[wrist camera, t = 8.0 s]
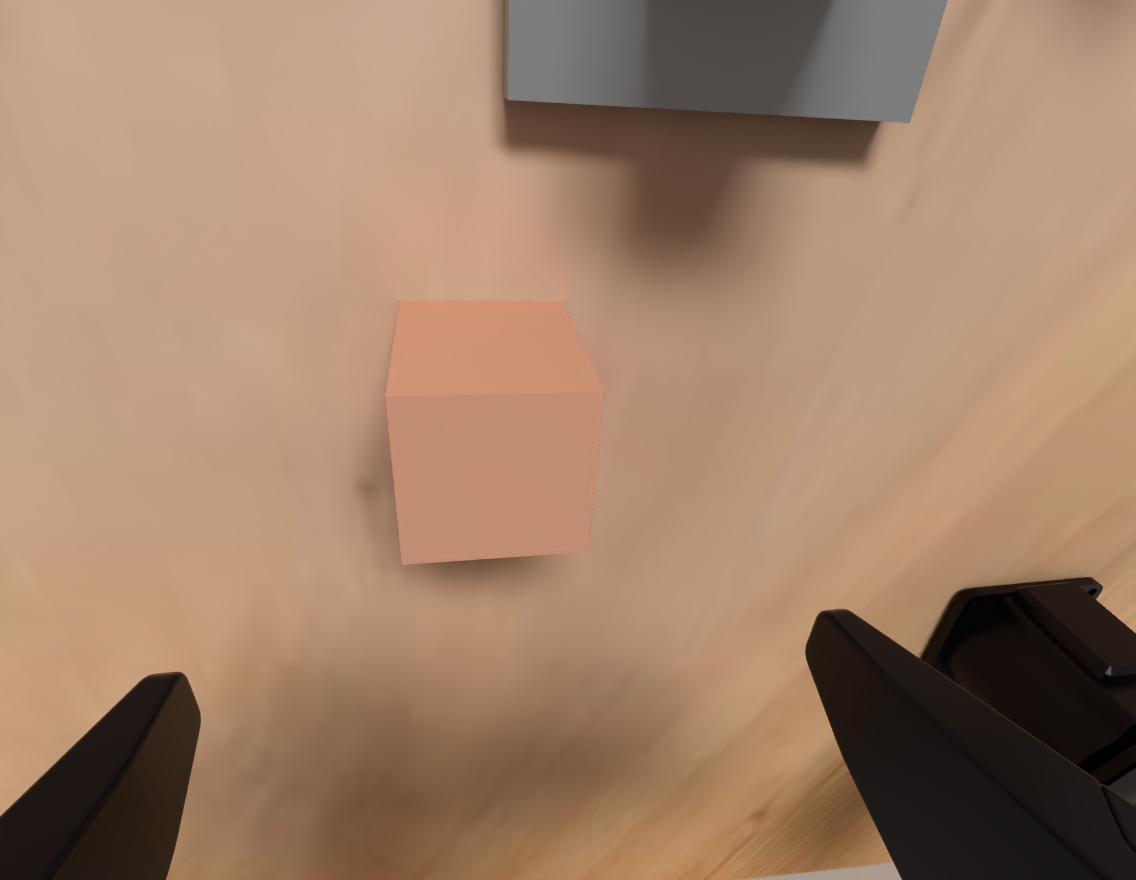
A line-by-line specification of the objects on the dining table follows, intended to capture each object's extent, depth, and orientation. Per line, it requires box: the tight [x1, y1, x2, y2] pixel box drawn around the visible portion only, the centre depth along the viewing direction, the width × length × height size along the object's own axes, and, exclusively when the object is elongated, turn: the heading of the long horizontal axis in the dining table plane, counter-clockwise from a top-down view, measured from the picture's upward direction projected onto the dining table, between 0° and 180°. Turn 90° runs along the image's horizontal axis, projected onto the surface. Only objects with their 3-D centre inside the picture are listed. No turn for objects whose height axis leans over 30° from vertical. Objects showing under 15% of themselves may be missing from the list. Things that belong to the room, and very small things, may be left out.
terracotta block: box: [385, 301, 605, 565], centre depth 15 cm, size 4×4×5 cm
